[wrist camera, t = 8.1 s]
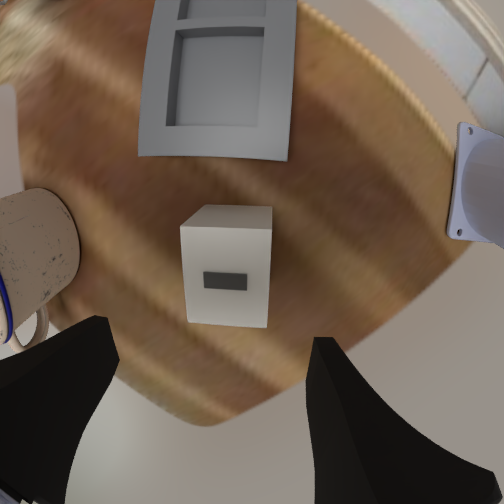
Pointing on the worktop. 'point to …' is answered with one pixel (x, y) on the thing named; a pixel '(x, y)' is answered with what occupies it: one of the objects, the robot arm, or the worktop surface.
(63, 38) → the worktop surface
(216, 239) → the block
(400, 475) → the robot arm
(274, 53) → the grey divided tray
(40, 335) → the teacup with lid
